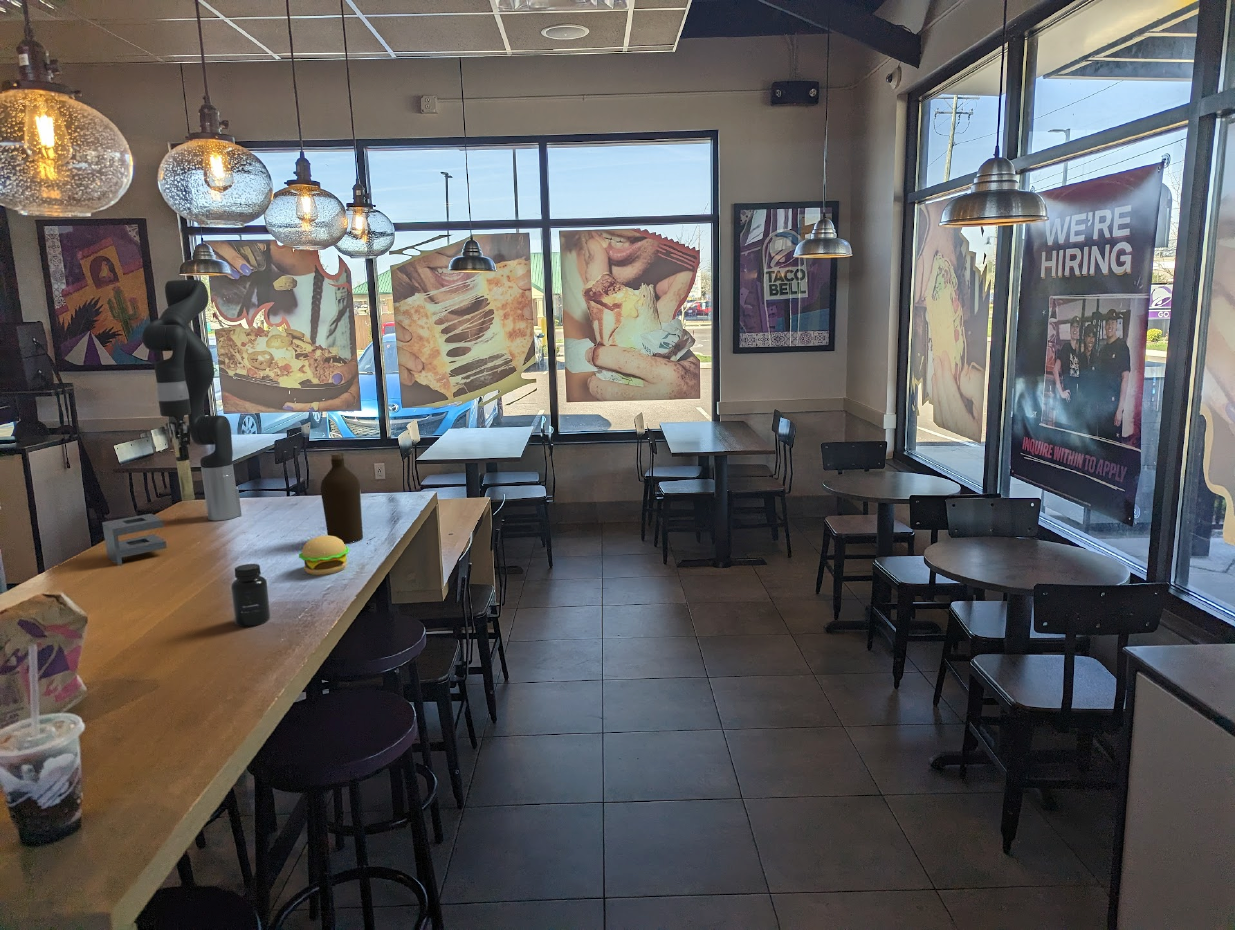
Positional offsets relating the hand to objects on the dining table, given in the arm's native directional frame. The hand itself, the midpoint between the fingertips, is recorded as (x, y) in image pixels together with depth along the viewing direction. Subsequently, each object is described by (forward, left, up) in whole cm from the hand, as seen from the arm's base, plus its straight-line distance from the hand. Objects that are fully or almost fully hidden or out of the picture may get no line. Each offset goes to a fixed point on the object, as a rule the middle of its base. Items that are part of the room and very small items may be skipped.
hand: (182, 459), depth 225 cm
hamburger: (-15, +53, -25) cm, 61 cm away
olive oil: (-31, +31, -25) cm, 51 cm away
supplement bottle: (+11, +75, -25) cm, 80 cm away
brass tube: (0, 0, -12) cm, 12 cm away
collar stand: (+14, 0, -25) cm, 29 cm away
